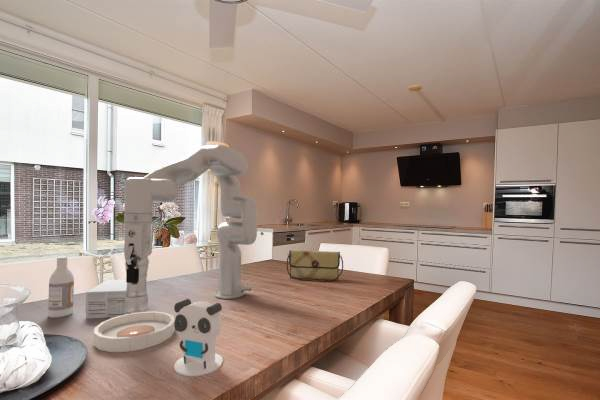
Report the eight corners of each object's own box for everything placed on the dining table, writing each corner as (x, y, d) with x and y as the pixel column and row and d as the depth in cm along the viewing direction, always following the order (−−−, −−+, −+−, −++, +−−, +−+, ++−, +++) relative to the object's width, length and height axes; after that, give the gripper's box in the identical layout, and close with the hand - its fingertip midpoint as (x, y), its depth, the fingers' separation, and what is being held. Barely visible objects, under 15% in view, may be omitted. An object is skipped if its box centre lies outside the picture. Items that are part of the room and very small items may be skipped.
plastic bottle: (123, 316, 90) (124, 245, 90) (124, 309, 96) (125, 243, 96) (148, 313, 93) (150, 244, 93) (147, 306, 99) (149, 242, 99)
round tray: (181, 321, 106) (181, 310, 106) (163, 349, 85) (163, 336, 85) (113, 323, 103) (114, 312, 103) (78, 353, 82) (78, 340, 82)
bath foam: (70, 316, 109) (72, 258, 109) (45, 319, 106) (47, 259, 106) (74, 310, 115) (76, 255, 116) (51, 312, 112) (52, 256, 112)
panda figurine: (161, 369, 75) (162, 306, 75) (193, 349, 86) (194, 293, 86) (203, 380, 71) (204, 313, 71) (231, 357, 82) (232, 299, 82)
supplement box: (105, 303, 124) (106, 279, 124) (141, 302, 126) (142, 278, 126) (84, 319, 107) (85, 291, 107) (126, 317, 110) (127, 290, 110)
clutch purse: (285, 280, 165) (285, 251, 165) (287, 277, 172) (287, 249, 172) (343, 282, 162) (343, 253, 162) (342, 279, 168) (343, 251, 169)
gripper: (141, 220, 87) (140, 286, 86) (160, 218, 104) (159, 273, 104) (112, 220, 86) (110, 287, 85) (135, 217, 103) (134, 273, 102)
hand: (137, 279), depth 94 cm, fingers closed on plastic bottle, 6 cm apart
